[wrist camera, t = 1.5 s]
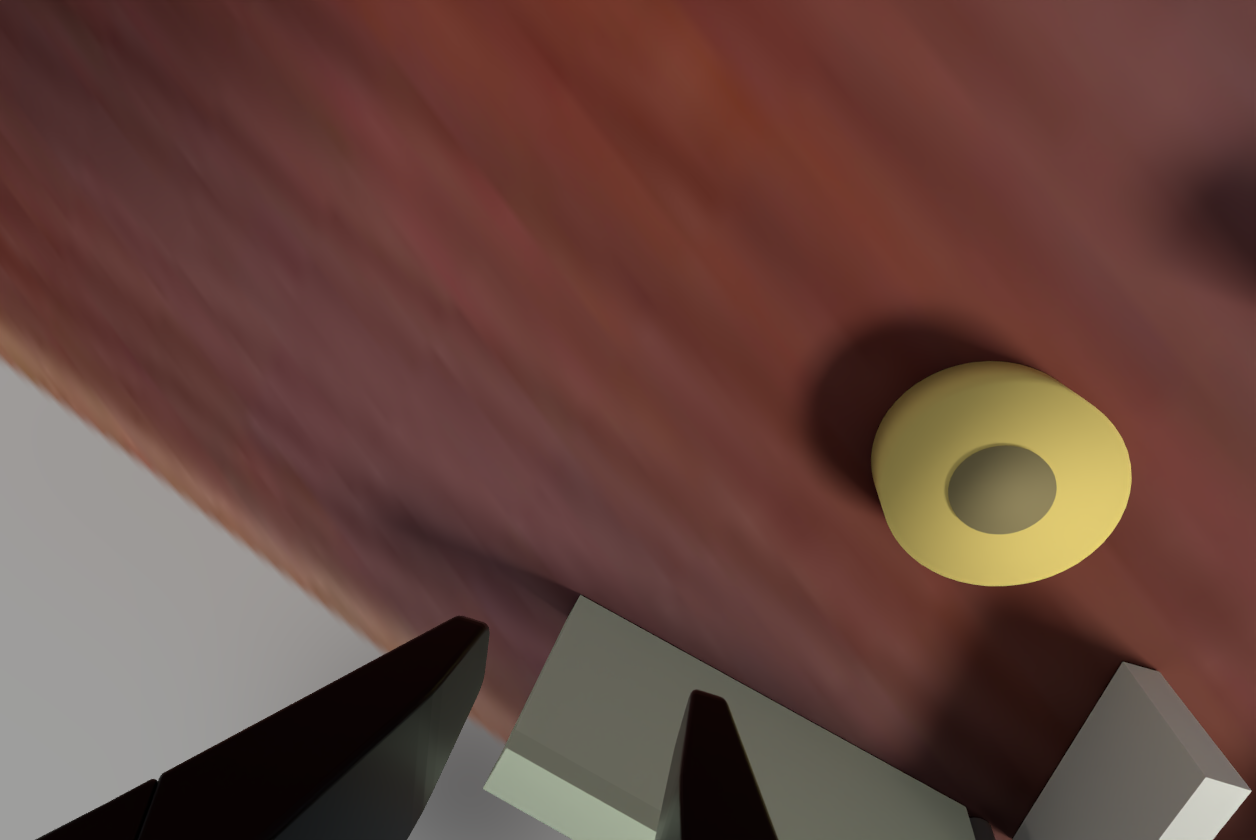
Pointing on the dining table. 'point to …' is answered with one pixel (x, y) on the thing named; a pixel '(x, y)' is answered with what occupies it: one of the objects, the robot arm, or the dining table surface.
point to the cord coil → (998, 474)
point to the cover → (645, 740)
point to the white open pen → (1135, 772)
